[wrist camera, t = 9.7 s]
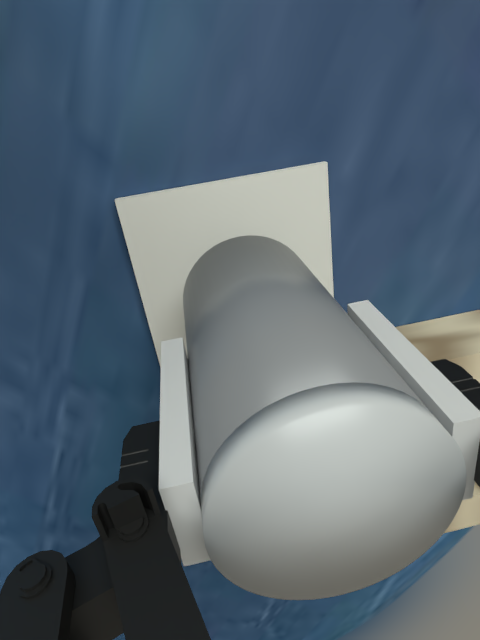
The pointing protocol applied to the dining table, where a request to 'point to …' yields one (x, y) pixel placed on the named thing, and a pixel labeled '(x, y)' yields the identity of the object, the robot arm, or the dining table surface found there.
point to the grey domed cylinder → (305, 433)
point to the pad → (221, 232)
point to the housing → (464, 350)
